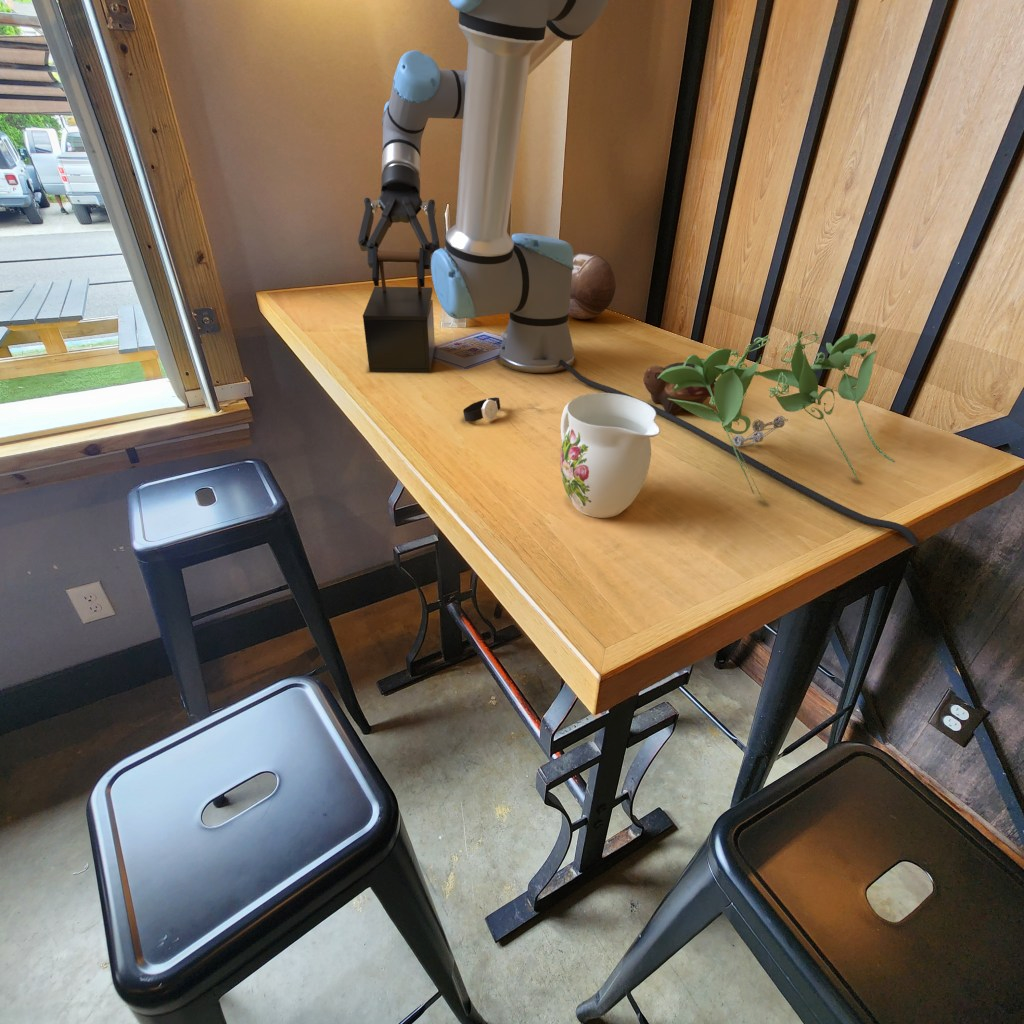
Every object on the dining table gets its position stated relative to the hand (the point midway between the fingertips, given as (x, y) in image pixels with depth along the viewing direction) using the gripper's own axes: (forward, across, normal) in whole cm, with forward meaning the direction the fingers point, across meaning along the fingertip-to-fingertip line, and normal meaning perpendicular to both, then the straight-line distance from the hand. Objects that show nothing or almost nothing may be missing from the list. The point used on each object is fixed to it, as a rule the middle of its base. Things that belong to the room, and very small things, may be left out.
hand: (398, 282), depth 108 cm
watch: (+30, -16, +10) cm, 35 cm away
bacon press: (+3, 0, -2) cm, 4 cm away
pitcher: (+48, -30, +27) cm, 63 cm away
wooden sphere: (-10, -41, -31) cm, 52 cm away
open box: (+11, 0, -9) cm, 15 cm away
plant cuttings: (+41, -58, +20) cm, 74 cm away
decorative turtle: (+27, -50, +6) cm, 57 cm away
